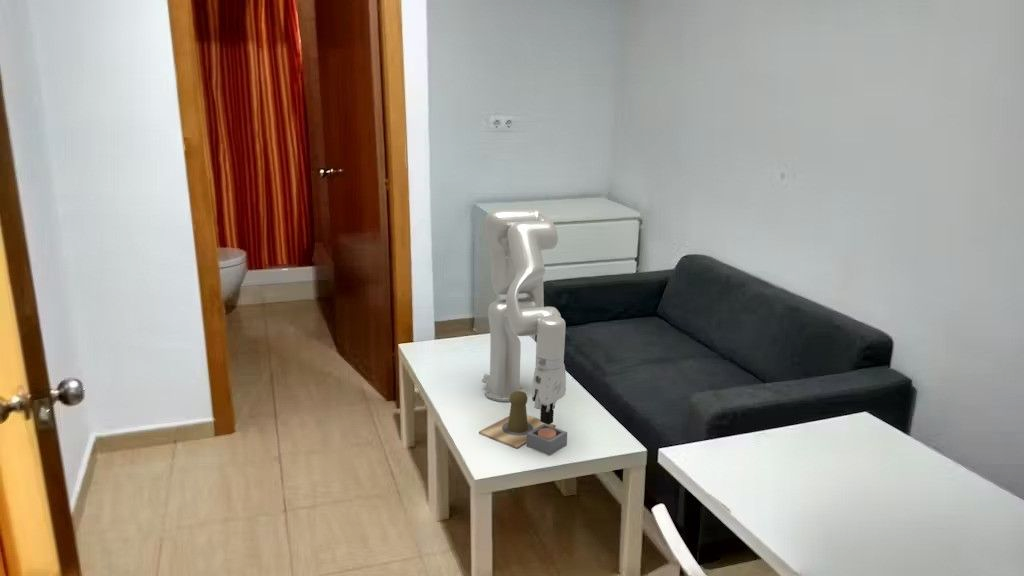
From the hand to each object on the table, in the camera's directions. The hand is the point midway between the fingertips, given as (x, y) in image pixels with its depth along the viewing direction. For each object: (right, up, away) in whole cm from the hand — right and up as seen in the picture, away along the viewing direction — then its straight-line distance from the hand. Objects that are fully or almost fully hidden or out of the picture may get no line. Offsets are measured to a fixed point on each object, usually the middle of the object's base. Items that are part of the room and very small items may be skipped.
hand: (546, 422), depth 216 cm
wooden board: (-8, -4, +10) cm, 13 cm away
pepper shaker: (-8, -4, +10) cm, 13 cm away
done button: (0, -6, +1) cm, 6 cm away
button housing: (0, -7, +1) cm, 7 cm away
